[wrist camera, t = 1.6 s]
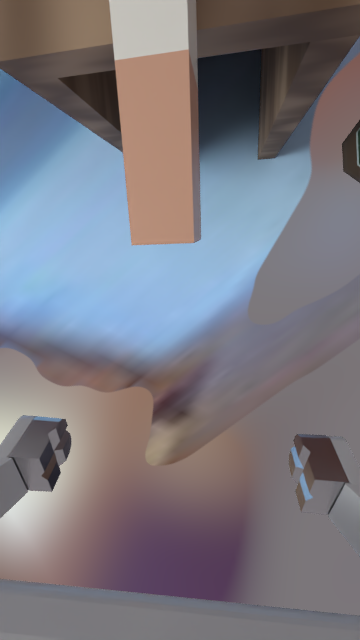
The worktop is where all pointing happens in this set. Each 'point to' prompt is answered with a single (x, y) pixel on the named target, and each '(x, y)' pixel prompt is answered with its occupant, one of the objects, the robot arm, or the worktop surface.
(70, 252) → the worktop surface
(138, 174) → the bar
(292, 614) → the robot arm
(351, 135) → the beer bottle
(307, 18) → the shelf
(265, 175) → the worktop surface
